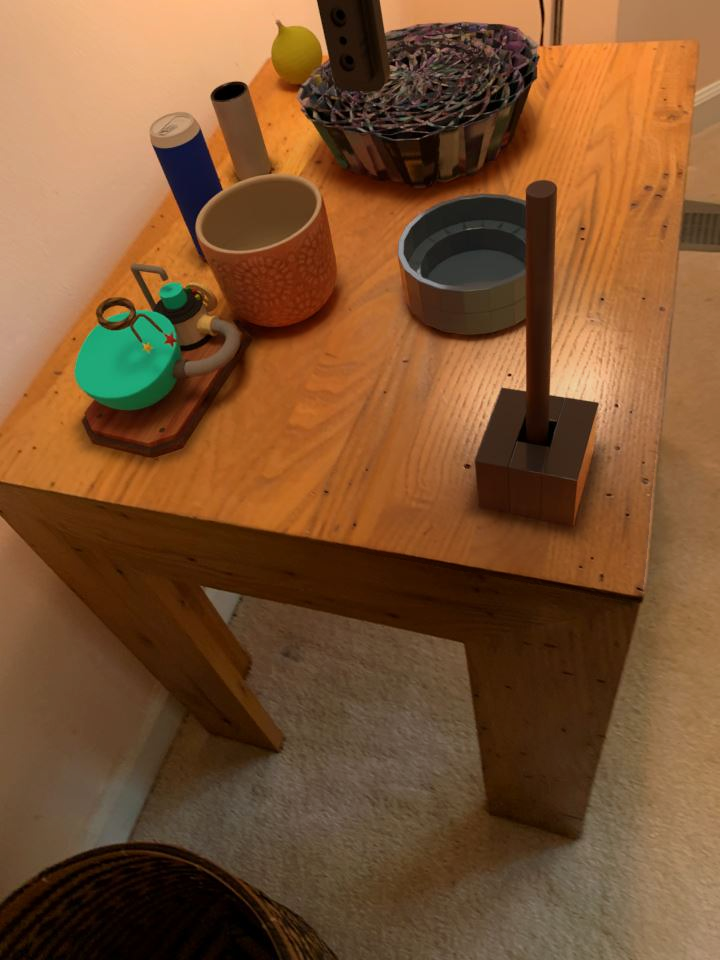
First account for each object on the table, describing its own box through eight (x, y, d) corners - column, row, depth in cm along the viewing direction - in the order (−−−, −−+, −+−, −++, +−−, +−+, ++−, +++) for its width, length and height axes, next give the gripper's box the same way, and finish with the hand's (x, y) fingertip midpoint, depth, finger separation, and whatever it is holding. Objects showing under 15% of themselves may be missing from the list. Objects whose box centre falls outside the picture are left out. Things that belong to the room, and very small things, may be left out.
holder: (593, 451, 60) (598, 402, 55) (573, 526, 56) (577, 480, 52) (503, 435, 63) (501, 386, 58) (478, 506, 59) (474, 460, 54)
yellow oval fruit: (275, 97, 105) (254, 21, 97) (283, 72, 109) (263, -3, 101) (324, 90, 103) (307, 13, 96) (330, 65, 108) (314, -11, 100)
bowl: (565, 251, 75) (568, 198, 70) (530, 350, 68) (531, 299, 63) (431, 239, 80) (425, 189, 75) (386, 330, 73) (376, 281, 68)
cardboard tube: (250, 186, 92) (223, 105, 84) (230, 175, 95) (202, 95, 87) (278, 168, 94) (255, 86, 85) (258, 157, 96) (233, 77, 88)
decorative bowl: (500, 228, 82) (505, 144, 73) (276, 194, 90) (258, 114, 82) (555, 103, 94) (565, 19, 86) (355, 83, 102) (346, 4, 94)
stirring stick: (548, 472, 60) (560, 180, 39) (544, 488, 59) (553, 198, 38) (528, 468, 60) (529, 178, 40) (523, 484, 59) (522, 196, 39)
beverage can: (219, 230, 88) (171, 106, 76) (251, 241, 86) (206, 114, 74) (190, 257, 86) (136, 133, 74) (222, 268, 83) (171, 142, 72)
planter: (286, 360, 73) (253, 270, 64) (207, 315, 79) (168, 228, 70) (370, 287, 77) (350, 193, 68) (289, 250, 83) (261, 160, 75)
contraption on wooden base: (281, 330, 76) (234, 198, 64) (195, 468, 67) (122, 345, 55) (167, 312, 81) (104, 187, 69) (74, 438, 72) (-17, 320, 60)
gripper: (336, -675, 14) (431, 128, 27) (518, -679, 22) (525, -42, 34) (41, -555, 17) (253, 125, 30) (290, -594, 24) (375, -32, 37)
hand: (399, 35), depth 32 cm, fingers open, 8 cm apart
